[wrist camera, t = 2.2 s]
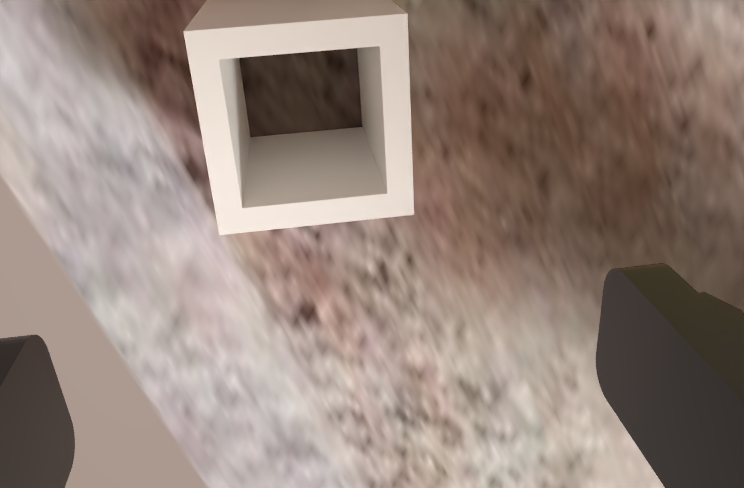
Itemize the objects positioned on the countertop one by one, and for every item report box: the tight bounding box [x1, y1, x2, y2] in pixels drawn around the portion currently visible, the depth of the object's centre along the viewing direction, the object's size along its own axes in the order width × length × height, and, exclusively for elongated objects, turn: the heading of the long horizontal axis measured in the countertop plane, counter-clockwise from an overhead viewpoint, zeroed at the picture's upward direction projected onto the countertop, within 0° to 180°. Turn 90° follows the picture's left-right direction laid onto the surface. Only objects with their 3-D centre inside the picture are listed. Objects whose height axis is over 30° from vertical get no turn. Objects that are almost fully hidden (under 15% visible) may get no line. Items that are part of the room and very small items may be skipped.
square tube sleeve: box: [183, 0, 414, 235], centre depth 23 cm, size 6×6×7 cm
